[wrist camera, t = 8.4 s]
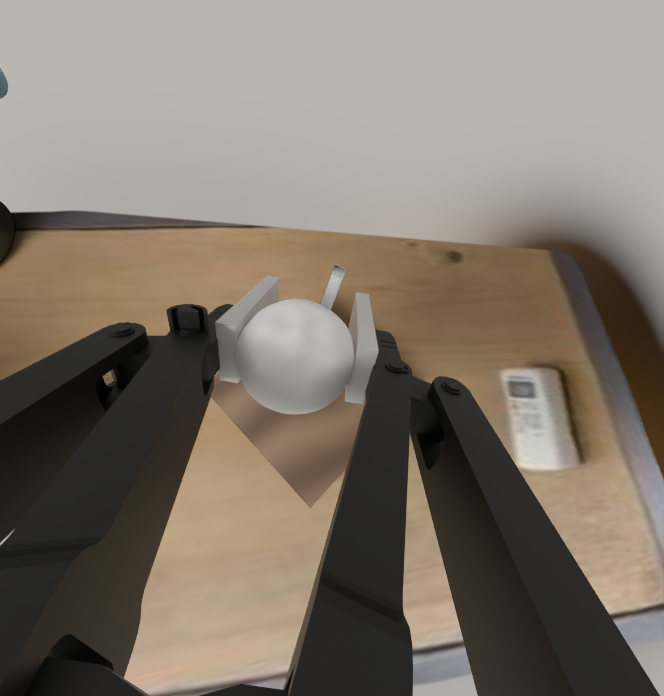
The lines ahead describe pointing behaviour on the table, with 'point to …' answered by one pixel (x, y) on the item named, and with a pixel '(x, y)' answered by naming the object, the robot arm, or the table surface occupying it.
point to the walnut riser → (295, 437)
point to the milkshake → (297, 353)
